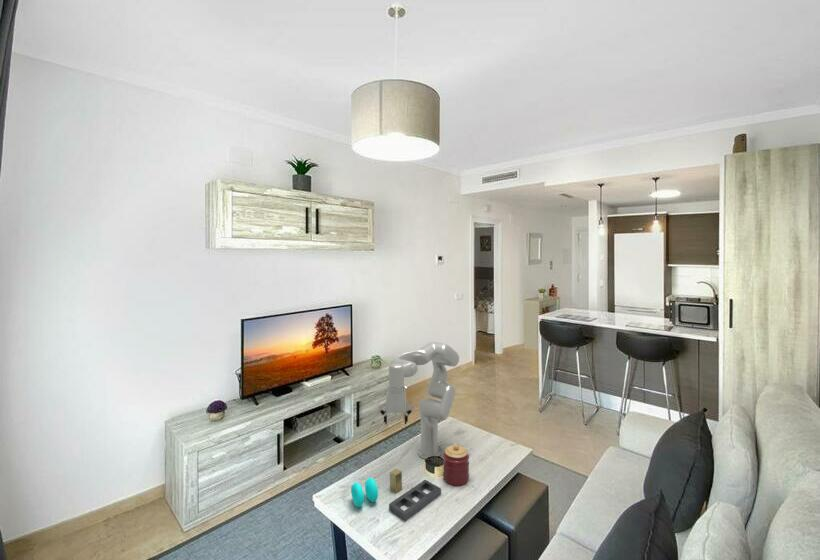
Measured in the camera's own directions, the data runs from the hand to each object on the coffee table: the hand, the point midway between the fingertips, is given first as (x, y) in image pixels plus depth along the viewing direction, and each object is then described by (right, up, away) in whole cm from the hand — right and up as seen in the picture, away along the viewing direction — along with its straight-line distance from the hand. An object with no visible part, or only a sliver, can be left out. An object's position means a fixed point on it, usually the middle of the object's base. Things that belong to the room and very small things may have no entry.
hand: (395, 423), depth 182 cm
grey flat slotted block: (+10, -31, -14) cm, 35 cm away
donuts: (-14, -31, -13) cm, 37 cm away
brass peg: (0, -30, -5) cm, 30 cm away
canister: (+30, -29, +4) cm, 42 cm away
